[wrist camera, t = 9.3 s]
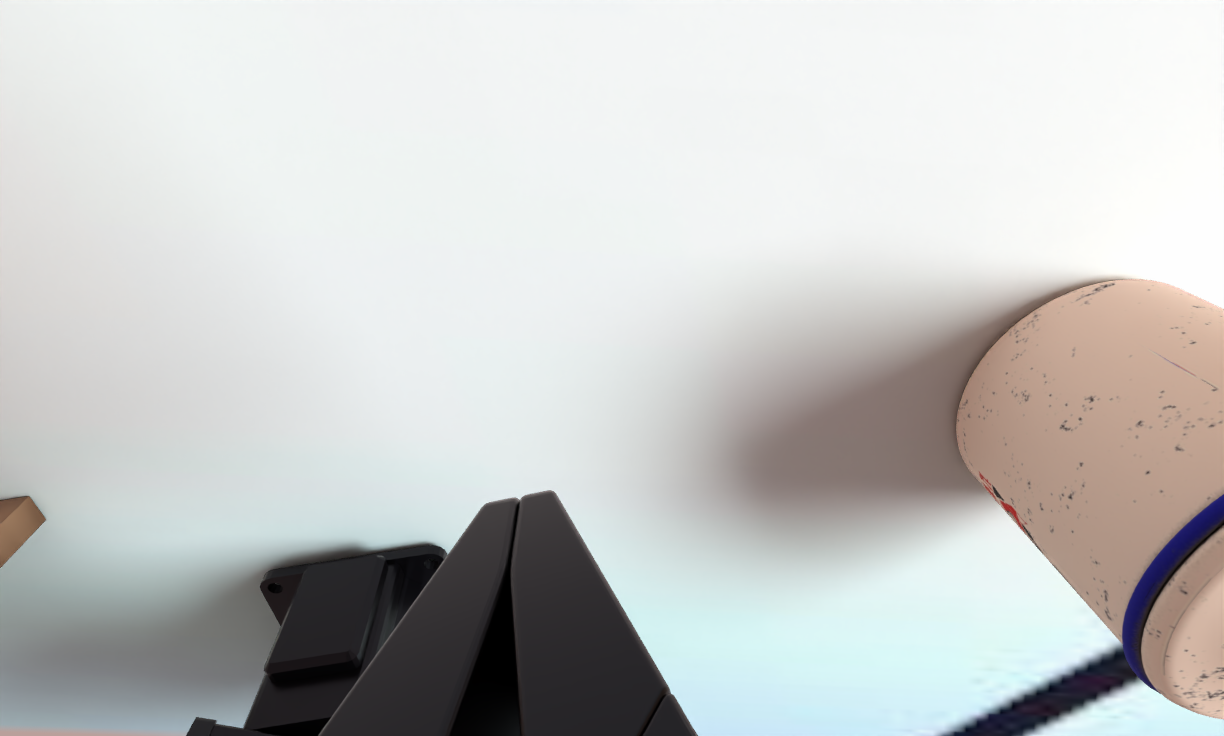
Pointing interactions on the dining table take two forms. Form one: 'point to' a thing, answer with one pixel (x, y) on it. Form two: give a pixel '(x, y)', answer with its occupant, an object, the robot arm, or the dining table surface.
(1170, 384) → the teacup with lid
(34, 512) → the walnut u-shaped frame
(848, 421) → the dining table surface
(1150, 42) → the dining table surface
